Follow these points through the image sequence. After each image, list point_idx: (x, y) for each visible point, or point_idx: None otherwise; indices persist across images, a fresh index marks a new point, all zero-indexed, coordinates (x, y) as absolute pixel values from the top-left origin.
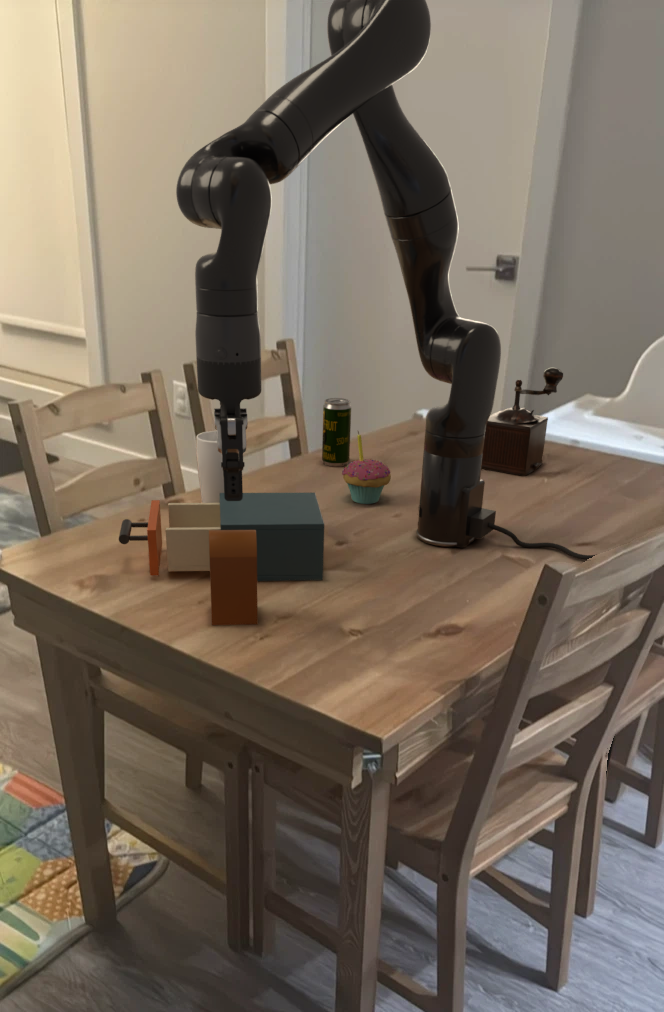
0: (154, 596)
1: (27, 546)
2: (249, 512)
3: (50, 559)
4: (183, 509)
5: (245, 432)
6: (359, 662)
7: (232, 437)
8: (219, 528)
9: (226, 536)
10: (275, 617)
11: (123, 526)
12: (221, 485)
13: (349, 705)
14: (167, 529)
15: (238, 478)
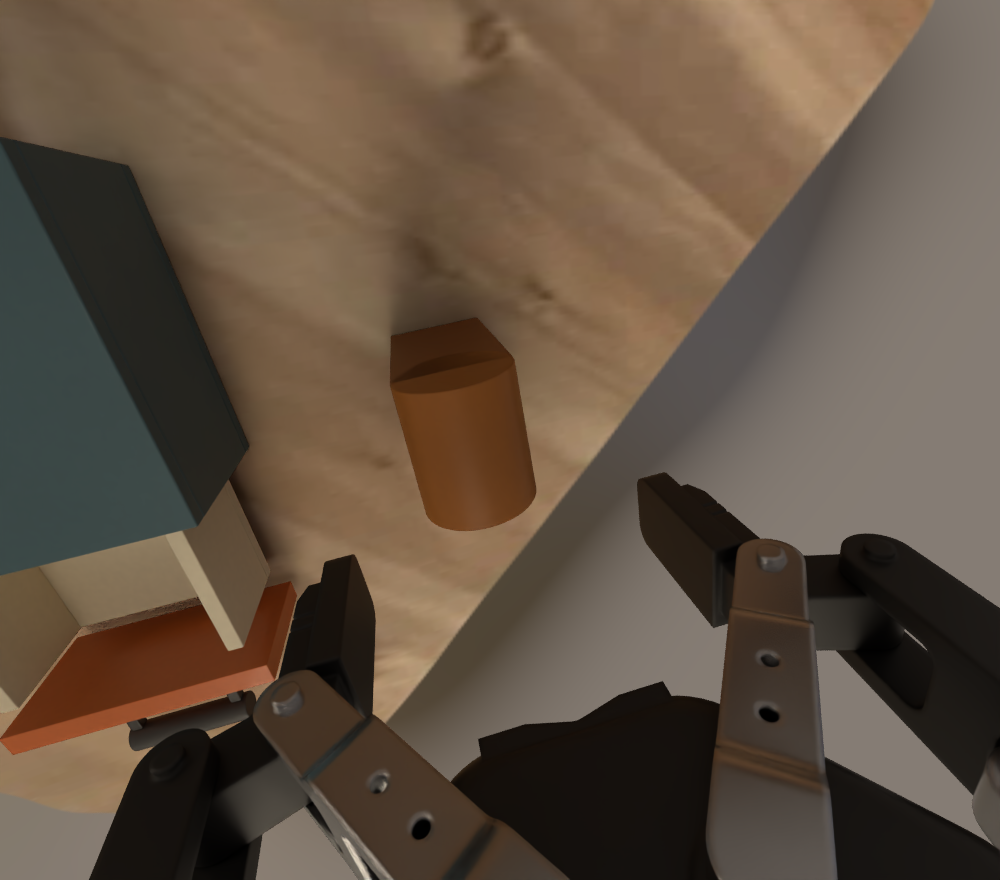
0: (375, 555)
1: None
2: (16, 469)
3: None
4: (2, 664)
5: (821, 721)
6: (652, 26)
7: (997, 745)
8: None
9: (508, 470)
10: (430, 280)
11: None
12: None
13: (837, 54)
14: (241, 643)
15: (752, 533)
